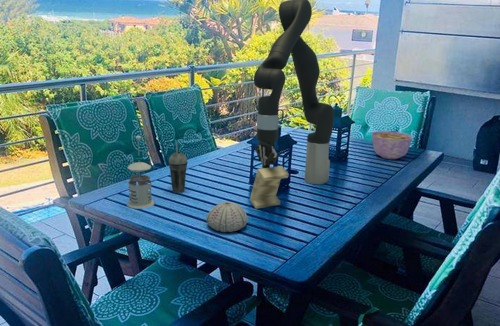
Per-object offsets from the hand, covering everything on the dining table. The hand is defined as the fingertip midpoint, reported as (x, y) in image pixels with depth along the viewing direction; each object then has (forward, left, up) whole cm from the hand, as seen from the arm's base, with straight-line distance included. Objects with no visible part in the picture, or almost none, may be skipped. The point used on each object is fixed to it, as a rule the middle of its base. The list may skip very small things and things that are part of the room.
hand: (265, 174), depth 170 cm
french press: (+40, -21, -12) cm, 46 cm away
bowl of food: (-93, -31, -12) cm, 99 cm away
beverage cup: (+23, -27, -12) cm, 37 cm away
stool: (0, 0, -11) cm, 11 cm away
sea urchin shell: (+21, +11, -12) cm, 26 cm away
